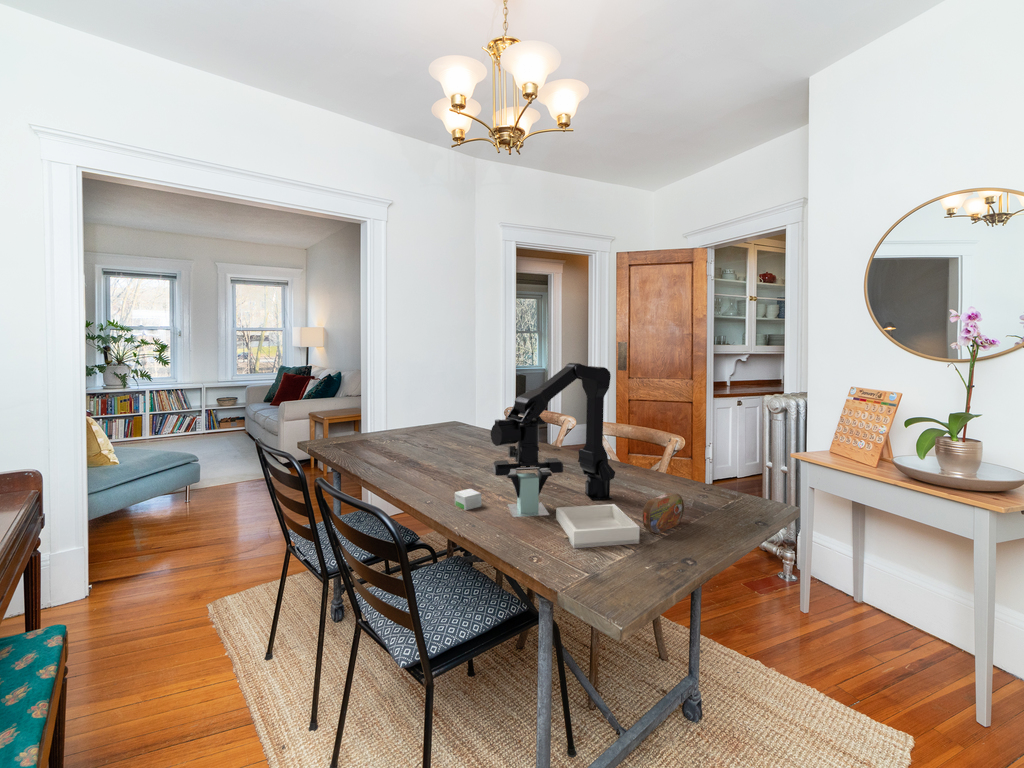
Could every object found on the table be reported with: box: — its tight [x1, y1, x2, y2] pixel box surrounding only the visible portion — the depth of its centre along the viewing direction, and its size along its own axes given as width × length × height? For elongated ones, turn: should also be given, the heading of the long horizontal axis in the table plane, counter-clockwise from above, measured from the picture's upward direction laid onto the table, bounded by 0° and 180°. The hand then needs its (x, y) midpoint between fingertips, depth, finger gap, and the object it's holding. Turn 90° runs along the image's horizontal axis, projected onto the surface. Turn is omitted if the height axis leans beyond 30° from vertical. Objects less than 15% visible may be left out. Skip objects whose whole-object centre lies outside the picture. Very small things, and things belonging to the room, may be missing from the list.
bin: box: [555, 503, 640, 549], centre depth 122 cm, size 16×16×4 cm
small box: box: [454, 488, 482, 511], centre depth 139 cm, size 6×6×5 cm
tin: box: [642, 492, 685, 534], centre depth 125 cm, size 15×3×8 cm, turn 129°
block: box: [516, 472, 540, 513], centre depth 135 cm, size 5×5×10 cm
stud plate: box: [507, 501, 550, 518], centre depth 136 cm, size 10×10×4 cm
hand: (527, 497), depth 135 cm, fingers open, 5 cm apart
